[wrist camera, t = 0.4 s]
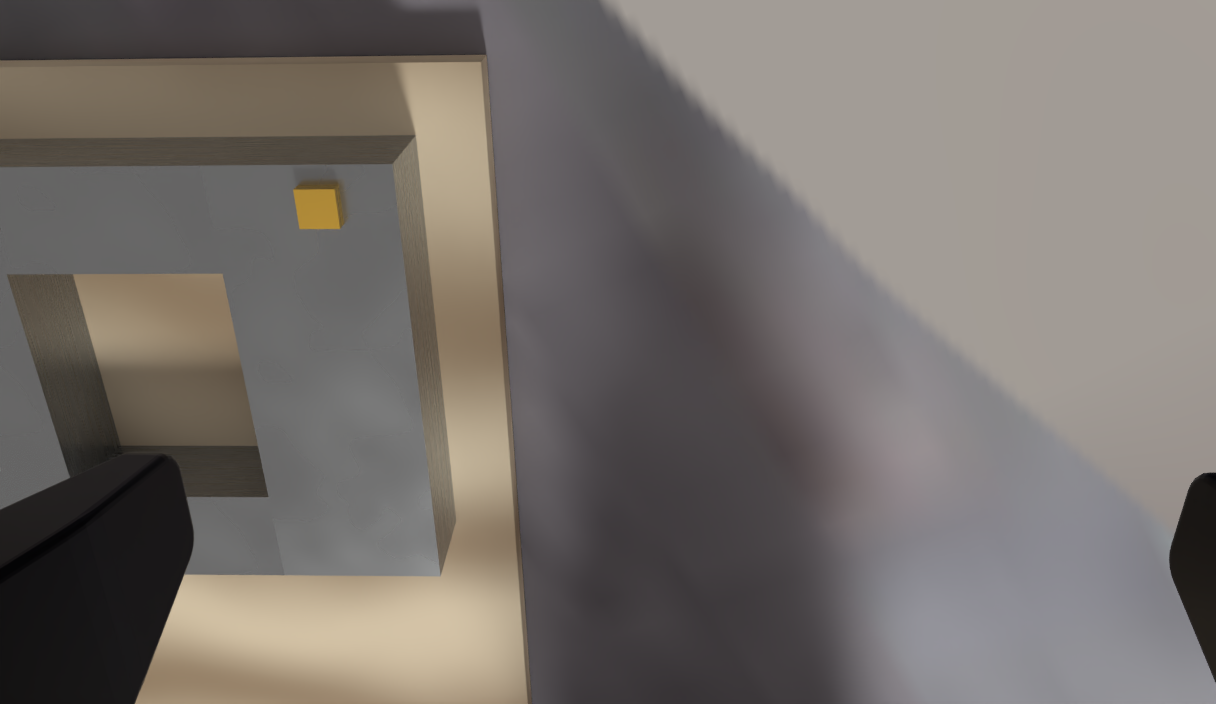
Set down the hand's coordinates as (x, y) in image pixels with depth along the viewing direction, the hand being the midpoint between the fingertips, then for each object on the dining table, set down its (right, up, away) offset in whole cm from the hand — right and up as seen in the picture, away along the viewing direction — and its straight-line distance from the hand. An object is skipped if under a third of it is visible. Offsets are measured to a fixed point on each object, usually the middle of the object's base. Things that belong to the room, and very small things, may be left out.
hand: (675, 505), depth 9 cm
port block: (-11, +2, +15) cm, 19 cm away
